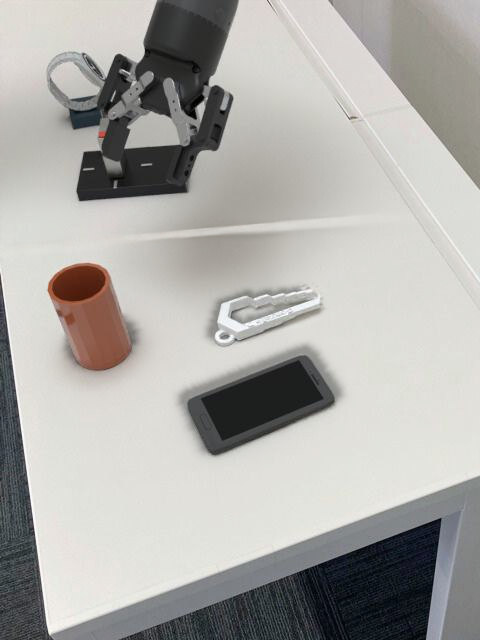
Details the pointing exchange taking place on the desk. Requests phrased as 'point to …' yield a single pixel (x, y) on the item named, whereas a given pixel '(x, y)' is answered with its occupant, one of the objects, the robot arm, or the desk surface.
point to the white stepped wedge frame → (259, 325)
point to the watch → (84, 107)
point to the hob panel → (128, 175)
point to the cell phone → (259, 403)
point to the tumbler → (90, 315)
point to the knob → (111, 166)
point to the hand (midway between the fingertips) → (141, 171)
